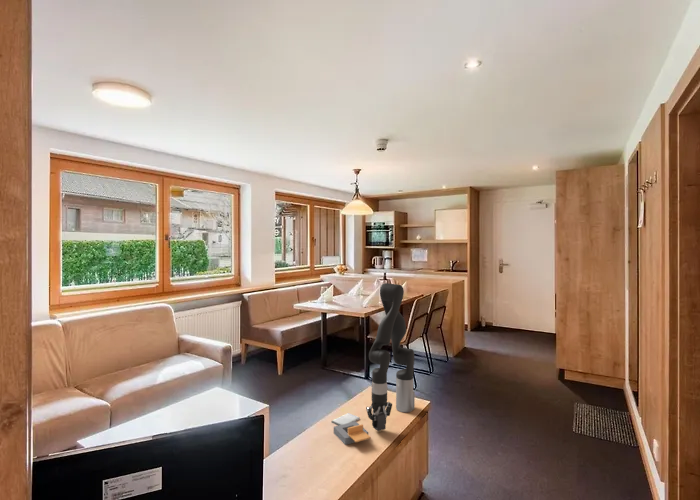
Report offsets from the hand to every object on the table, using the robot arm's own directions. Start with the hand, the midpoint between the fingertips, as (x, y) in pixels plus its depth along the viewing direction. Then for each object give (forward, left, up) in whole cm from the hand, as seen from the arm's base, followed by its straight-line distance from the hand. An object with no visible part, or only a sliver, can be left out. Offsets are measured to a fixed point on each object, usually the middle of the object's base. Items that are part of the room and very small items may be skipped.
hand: (379, 426), depth 177 cm
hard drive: (+9, -17, -3) cm, 20 cm away
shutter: (+14, +5, +1) cm, 15 cm away
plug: (0, 0, -2) cm, 2 cm away
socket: (+14, -3, -3) cm, 15 cm away
